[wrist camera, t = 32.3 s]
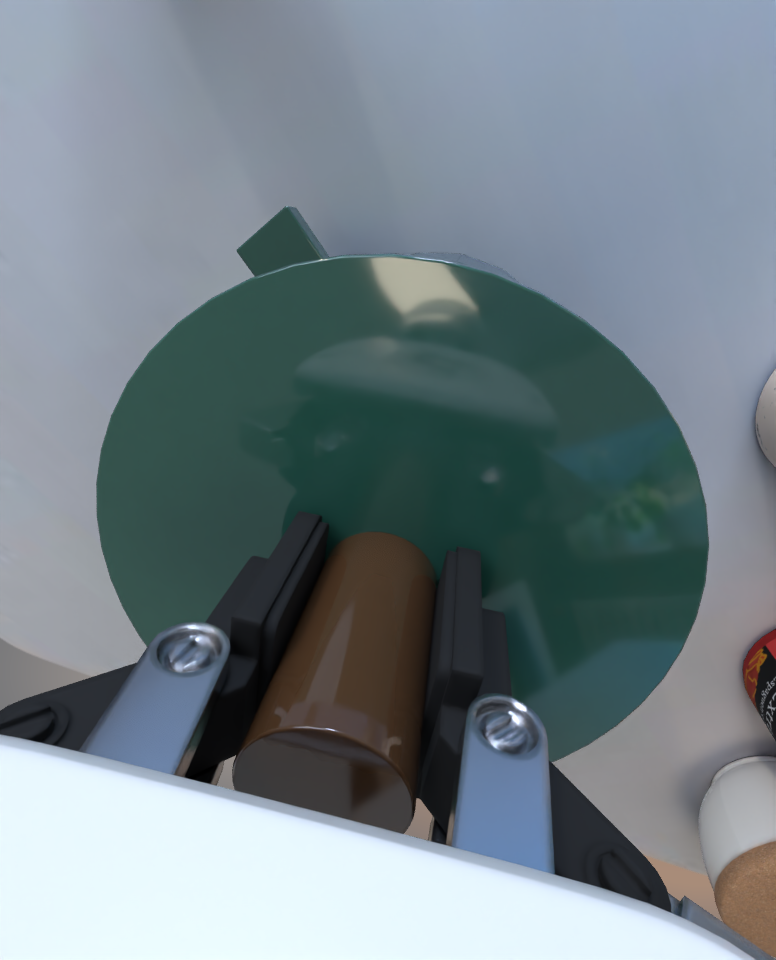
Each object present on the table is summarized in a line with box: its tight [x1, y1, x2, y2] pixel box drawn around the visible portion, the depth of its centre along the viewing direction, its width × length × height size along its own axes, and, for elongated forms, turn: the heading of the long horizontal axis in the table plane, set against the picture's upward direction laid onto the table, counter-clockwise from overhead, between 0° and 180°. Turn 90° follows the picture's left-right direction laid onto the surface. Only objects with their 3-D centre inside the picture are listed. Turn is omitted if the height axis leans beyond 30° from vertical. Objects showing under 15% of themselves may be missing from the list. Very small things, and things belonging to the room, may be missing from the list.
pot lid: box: [96, 253, 709, 834], centre depth 11 cm, size 15×15×7 cm
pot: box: [237, 206, 521, 284], centre depth 24 cm, size 14×19×10 cm
